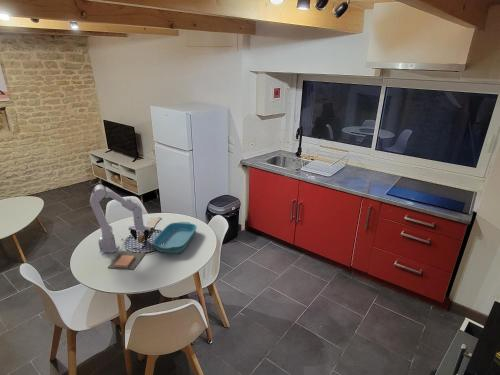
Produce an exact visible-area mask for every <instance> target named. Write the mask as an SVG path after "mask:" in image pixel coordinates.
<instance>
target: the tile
mask: <svg viewBox="0 0 500 375" xmlns="http://www.w3.org/2000/svg"><path fill="white" fill-rule="evenodd" d="M134 259H135V256H127V255H122V256H121V257H120V259H119V260H118V261H117V262H116V263H115V264H114V265H115V267H124V268H128V267H129V265H130V264H131V263H132V261H133V260H134Z"/></svg>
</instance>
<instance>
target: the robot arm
mask: <svg viewBox="0 0 500 375" xmlns="http://www.w3.org/2000/svg"><path fill="white" fill-rule="evenodd" d="M104 198H105V199H108V198H111V199H112V200H114V201H117V202H118V203H120V205H121V207H123V208H125V209H126V210H128V211H130V212H132V215H133V216H132V217H133V218H132V219H133V223H134V226H130V225H129V226H128V231H129V233H130V234H131V235H132V238H133V239H134V240H135V241H137V240H138V235H137V234H138V233H137V232H139V231H143V232H142V233H144V236H145V242H146V241H147V240H148V239H149V238H148V233H149V231H150V230H151V228H150V227H147V225H146V226H145V224H144V218H143V209H142V206H141V205H140V204H139V203H138V202H134V201H133V200H132V198H128V197H126V198H124V197H123V196H121V195H120V194H118V193H116V192H115V191H113V189H110V188H109V187H107V186H105V185H103V184H100V183H99V184H96V185H95V186H94V188H92V192H91V195H90V199H89V204H90V206H91V207H90V208H92V211H93V214H94V216H95V218H96V221H97V222H98V225H99V227H100V230H101V236H100V237H99V238H98V248H99V252H100V253H114V252H115V251H116V250H117V249H118V248H119V247H120V246H119V245H116V238H115V235H114V233H113V227H112V226H111V225H110V224H109V222H108V220H107V218H106V216H105V213H104V211H103V208H102V205H101V204H100V202H101V201H102V200H103V199H104Z"/></svg>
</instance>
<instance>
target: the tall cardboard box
mask: <svg viewBox="0 0 500 375" xmlns="http://www.w3.org/2000/svg"><path fill="white" fill-rule="evenodd" d="M144 240H145V236H144V233H143V232H142V233H140V234H139V235H138V236H137V243H143V241H144ZM143 244H144V243H143Z"/></svg>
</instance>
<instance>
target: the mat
mask: <svg viewBox="0 0 500 375" xmlns="http://www.w3.org/2000/svg"><path fill="white" fill-rule="evenodd" d="M129 251H130V250H129ZM129 251H128V250H121V251H120V252H119V254H118V255H117V256H116V257H115V258H114V259H113V261H111V263H110V264H109V265H108V266H107V269H114V270H115V269H116V270H131V271H134V270H135V269H136V267H137V266H138V264H139V263H140V262H141V260H142V259H143V258H144V257H145V255H146V253H132V252H129ZM122 255H127V256H135V259H134V260H133V261H132V263H131V264H130V265H129V267H128V268H124V267H115V265H114V264H115V263H116V262H117V261H118V260H119V259H120V257H121V256H122Z"/></svg>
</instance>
